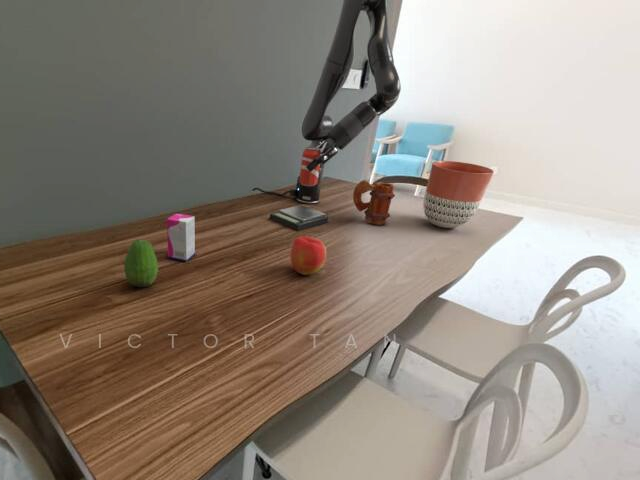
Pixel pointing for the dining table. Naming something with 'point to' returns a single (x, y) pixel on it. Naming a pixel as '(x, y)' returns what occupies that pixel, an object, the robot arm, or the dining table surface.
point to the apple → (307, 255)
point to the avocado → (141, 264)
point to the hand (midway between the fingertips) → (305, 167)
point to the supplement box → (181, 237)
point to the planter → (454, 192)
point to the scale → (296, 221)
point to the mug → (374, 201)
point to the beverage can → (308, 156)
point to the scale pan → (302, 213)
